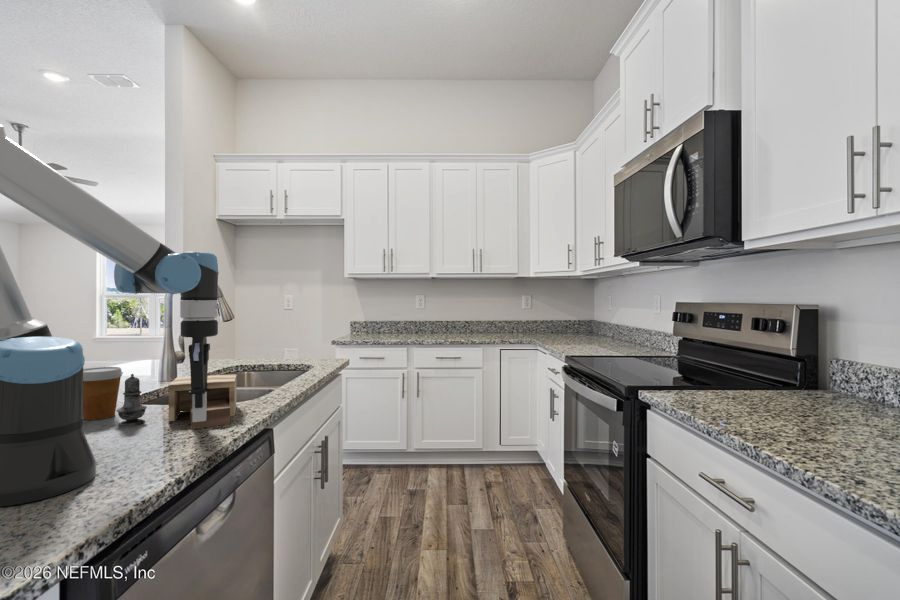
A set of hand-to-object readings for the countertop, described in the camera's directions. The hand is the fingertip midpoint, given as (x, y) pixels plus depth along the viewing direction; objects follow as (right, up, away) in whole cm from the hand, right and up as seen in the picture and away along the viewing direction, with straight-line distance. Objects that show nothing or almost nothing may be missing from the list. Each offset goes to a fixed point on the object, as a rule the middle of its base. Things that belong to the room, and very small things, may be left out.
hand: (199, 420), depth 101 cm
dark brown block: (-2, -2, +7) cm, 8 cm away
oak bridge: (-6, -2, +12) cm, 14 cm away
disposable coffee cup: (-31, -2, +9) cm, 32 cm away
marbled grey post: (-18, -2, +4) cm, 19 cm away
